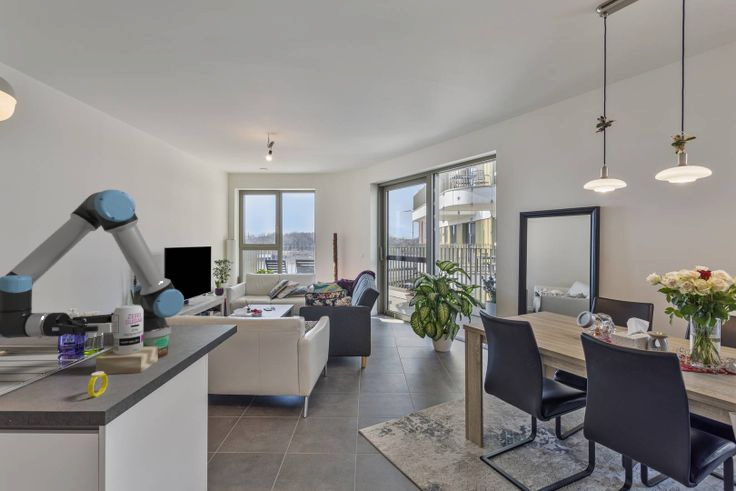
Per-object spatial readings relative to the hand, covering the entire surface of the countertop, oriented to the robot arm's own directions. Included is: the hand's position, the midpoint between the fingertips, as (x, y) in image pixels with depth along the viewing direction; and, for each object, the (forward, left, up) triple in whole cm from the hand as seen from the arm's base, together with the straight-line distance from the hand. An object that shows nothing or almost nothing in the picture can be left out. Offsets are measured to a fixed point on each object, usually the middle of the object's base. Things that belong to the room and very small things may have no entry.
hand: (122, 323), depth 117 cm
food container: (-11, +7, -15) cm, 20 cm away
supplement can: (0, +2, -10) cm, 10 cm away
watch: (+22, +5, -15) cm, 27 cm away
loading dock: (0, +2, -15) cm, 15 cm away
